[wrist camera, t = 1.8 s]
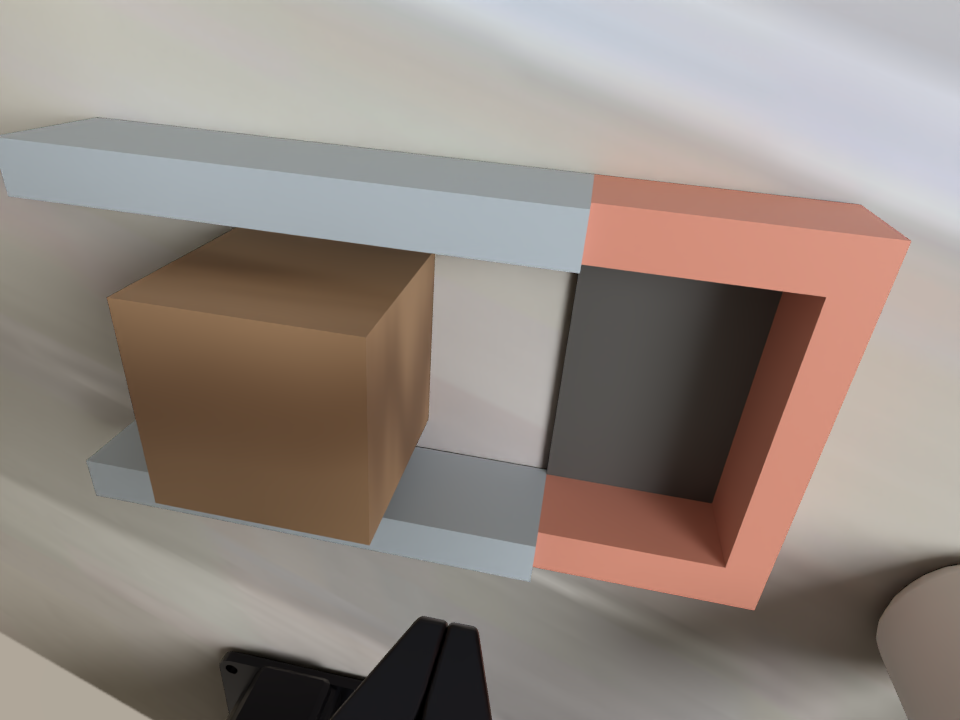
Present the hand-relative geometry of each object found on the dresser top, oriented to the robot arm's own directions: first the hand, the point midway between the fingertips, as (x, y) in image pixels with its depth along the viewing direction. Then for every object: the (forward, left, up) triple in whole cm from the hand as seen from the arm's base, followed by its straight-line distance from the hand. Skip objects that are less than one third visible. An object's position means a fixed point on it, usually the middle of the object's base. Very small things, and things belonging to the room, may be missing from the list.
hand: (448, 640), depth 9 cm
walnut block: (0, +5, -9) cm, 10 cm away
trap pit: (0, -3, -9) cm, 9 cm away
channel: (0, +5, -8) cm, 10 cm away
